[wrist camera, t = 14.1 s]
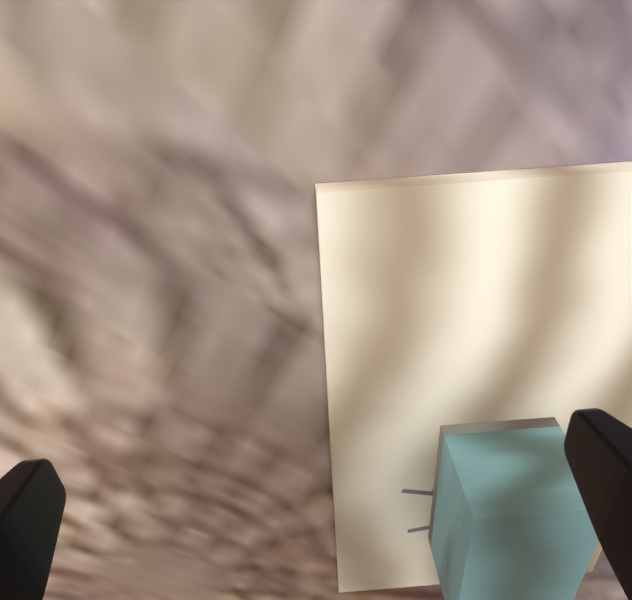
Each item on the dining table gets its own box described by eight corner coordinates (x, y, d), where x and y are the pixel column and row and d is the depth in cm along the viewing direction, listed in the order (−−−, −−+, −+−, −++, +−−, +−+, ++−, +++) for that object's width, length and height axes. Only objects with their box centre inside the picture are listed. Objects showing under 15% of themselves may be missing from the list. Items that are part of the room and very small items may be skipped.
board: (743, 153, 19) (765, 161, 18) (584, 556, 32) (592, 571, 32) (315, 183, 19) (316, 193, 18) (337, 576, 32) (339, 592, 31)
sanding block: (554, 416, 24) (611, 508, 20) (523, 530, 29) (564, 623, 25) (440, 425, 24) (473, 519, 20) (428, 537, 29) (452, 632, 25)
